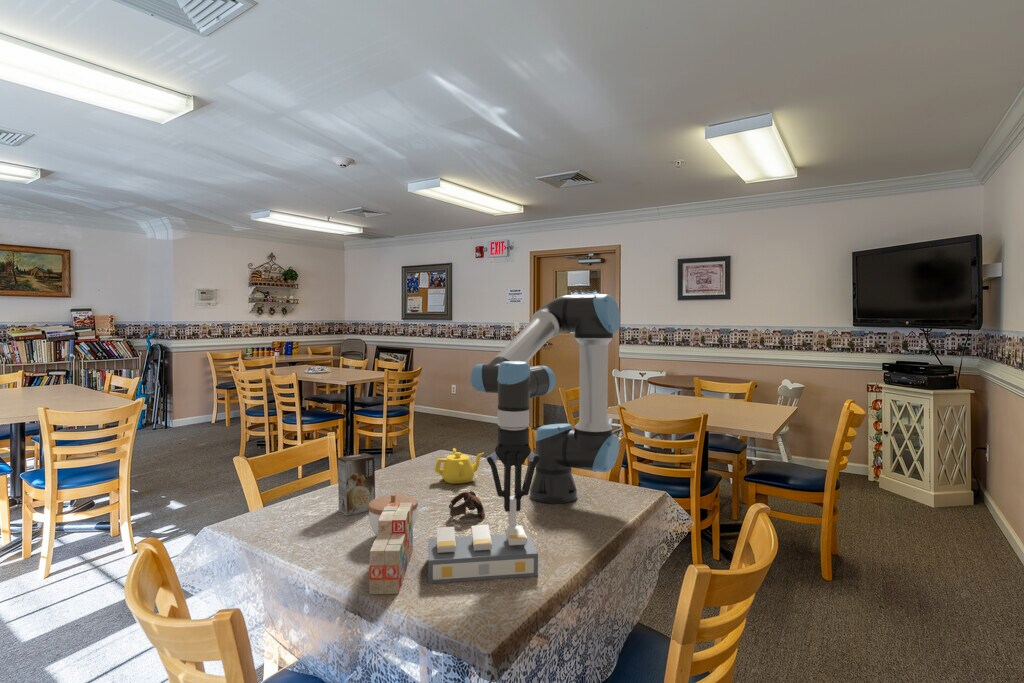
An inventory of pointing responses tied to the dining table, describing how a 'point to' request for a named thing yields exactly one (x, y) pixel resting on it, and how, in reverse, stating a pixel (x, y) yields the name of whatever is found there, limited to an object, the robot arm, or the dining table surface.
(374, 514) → the lidded bowl
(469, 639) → the dining table surface
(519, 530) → the small box
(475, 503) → the brown curved piece
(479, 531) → the rocker
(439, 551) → the rocker
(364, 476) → the coffee box
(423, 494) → the dining table surface
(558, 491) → the robot arm
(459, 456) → the teapot
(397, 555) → the stack of blocks
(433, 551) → the switch box
